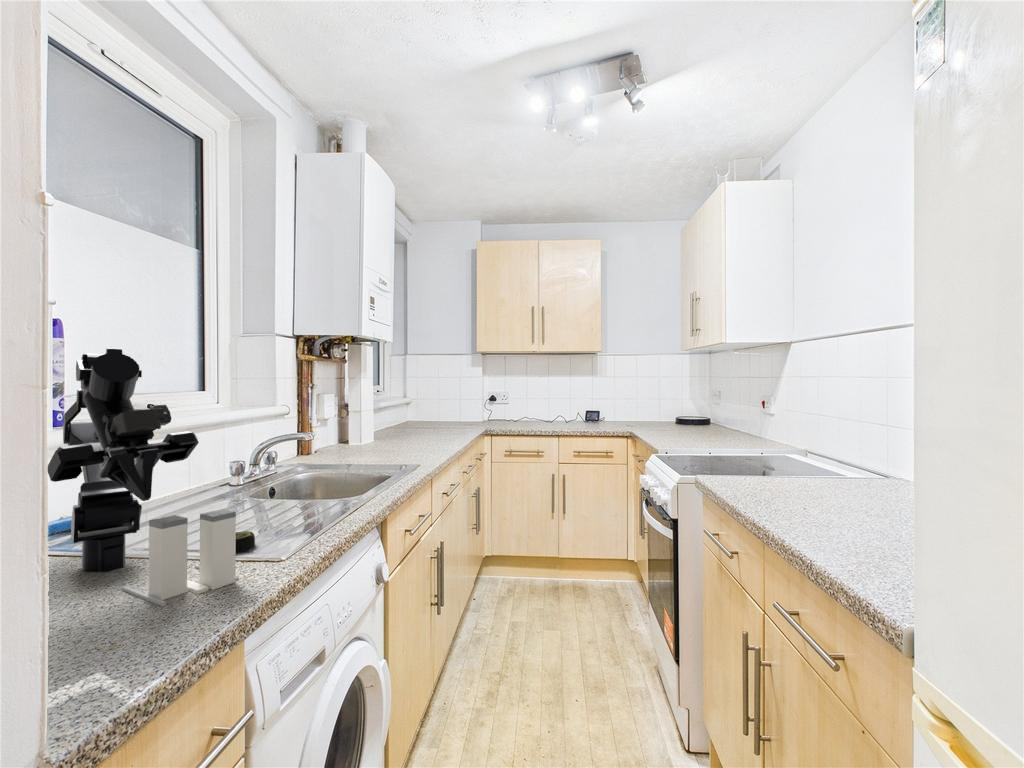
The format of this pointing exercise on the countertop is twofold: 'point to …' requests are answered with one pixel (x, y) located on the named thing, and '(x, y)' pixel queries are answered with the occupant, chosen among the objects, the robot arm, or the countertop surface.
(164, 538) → the tab
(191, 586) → the switch board
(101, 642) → the countertop surface
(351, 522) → the countertop surface
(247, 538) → the tape measure
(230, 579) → the tab
